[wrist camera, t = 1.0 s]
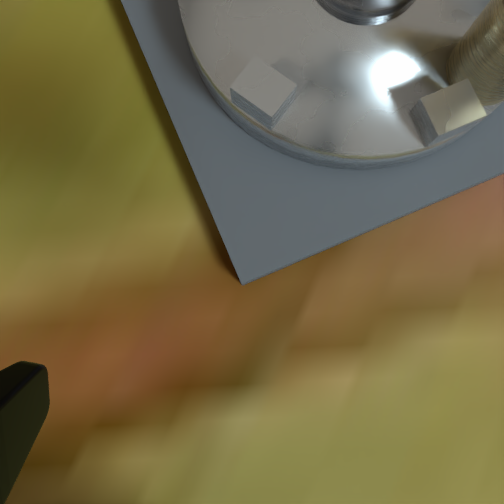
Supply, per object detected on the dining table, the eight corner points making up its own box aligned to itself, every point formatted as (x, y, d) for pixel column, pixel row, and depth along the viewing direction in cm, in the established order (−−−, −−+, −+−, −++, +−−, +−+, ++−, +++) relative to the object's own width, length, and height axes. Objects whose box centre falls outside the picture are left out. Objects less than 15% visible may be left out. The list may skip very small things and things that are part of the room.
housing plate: (618, 124, 23) (646, 110, 22) (242, 285, 23) (241, 283, 21) (440, -209, 25) (454, -245, 24) (91, -70, 25) (79, -97, 23)
